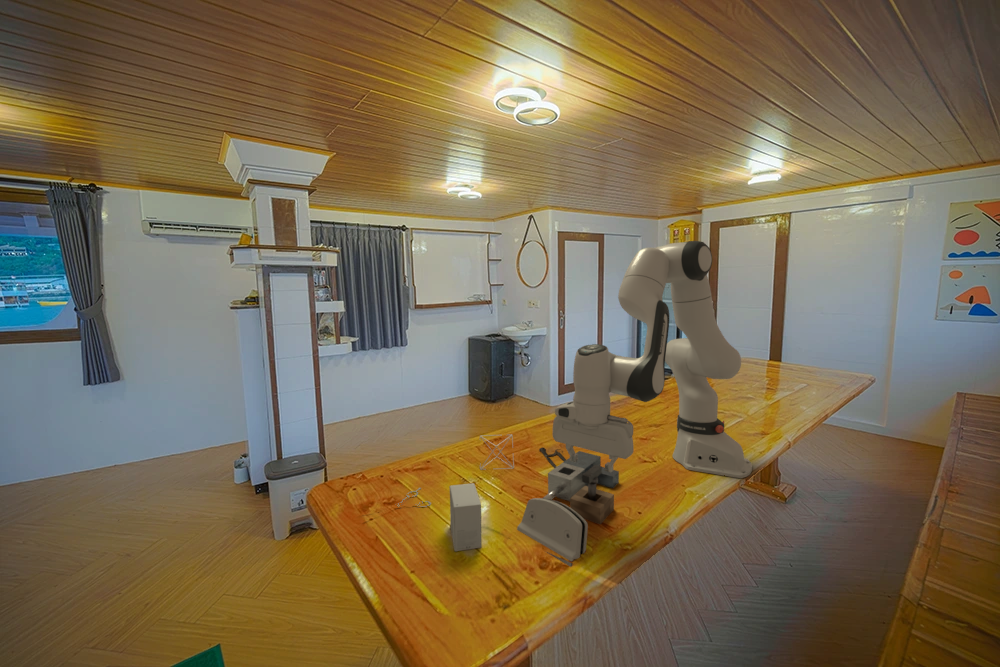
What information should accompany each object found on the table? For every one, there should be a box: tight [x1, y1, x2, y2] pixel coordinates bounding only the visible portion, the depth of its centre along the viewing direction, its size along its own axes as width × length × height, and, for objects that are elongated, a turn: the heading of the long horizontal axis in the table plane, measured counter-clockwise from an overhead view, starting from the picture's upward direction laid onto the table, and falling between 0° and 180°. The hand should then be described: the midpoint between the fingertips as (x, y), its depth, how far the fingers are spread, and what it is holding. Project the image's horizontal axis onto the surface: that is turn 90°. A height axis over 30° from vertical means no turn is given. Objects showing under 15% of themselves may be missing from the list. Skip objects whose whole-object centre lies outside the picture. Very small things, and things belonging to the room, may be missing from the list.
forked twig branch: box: [538, 447, 567, 469], centre depth 135 cm, size 24×10×2 cm, turn 13°
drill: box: [542, 450, 620, 502], centre depth 112 cm, size 25×13×7 cm, turn 142°
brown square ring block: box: [569, 486, 615, 525], centre depth 103 cm, size 8×8×5 cm
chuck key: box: [582, 465, 603, 502], centre depth 103 cm, size 3×7×11 cm, turn 142°
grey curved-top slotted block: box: [516, 497, 589, 568], centre depth 93 cm, size 17×5×10 cm, turn 43°
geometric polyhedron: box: [479, 434, 515, 471], centre depth 133 cm, size 12×11×9 cm
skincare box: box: [449, 482, 483, 552], centre depth 96 cm, size 10×6×10 cm, turn 12°
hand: (590, 465), depth 102 cm, fingers open, 8 cm apart
